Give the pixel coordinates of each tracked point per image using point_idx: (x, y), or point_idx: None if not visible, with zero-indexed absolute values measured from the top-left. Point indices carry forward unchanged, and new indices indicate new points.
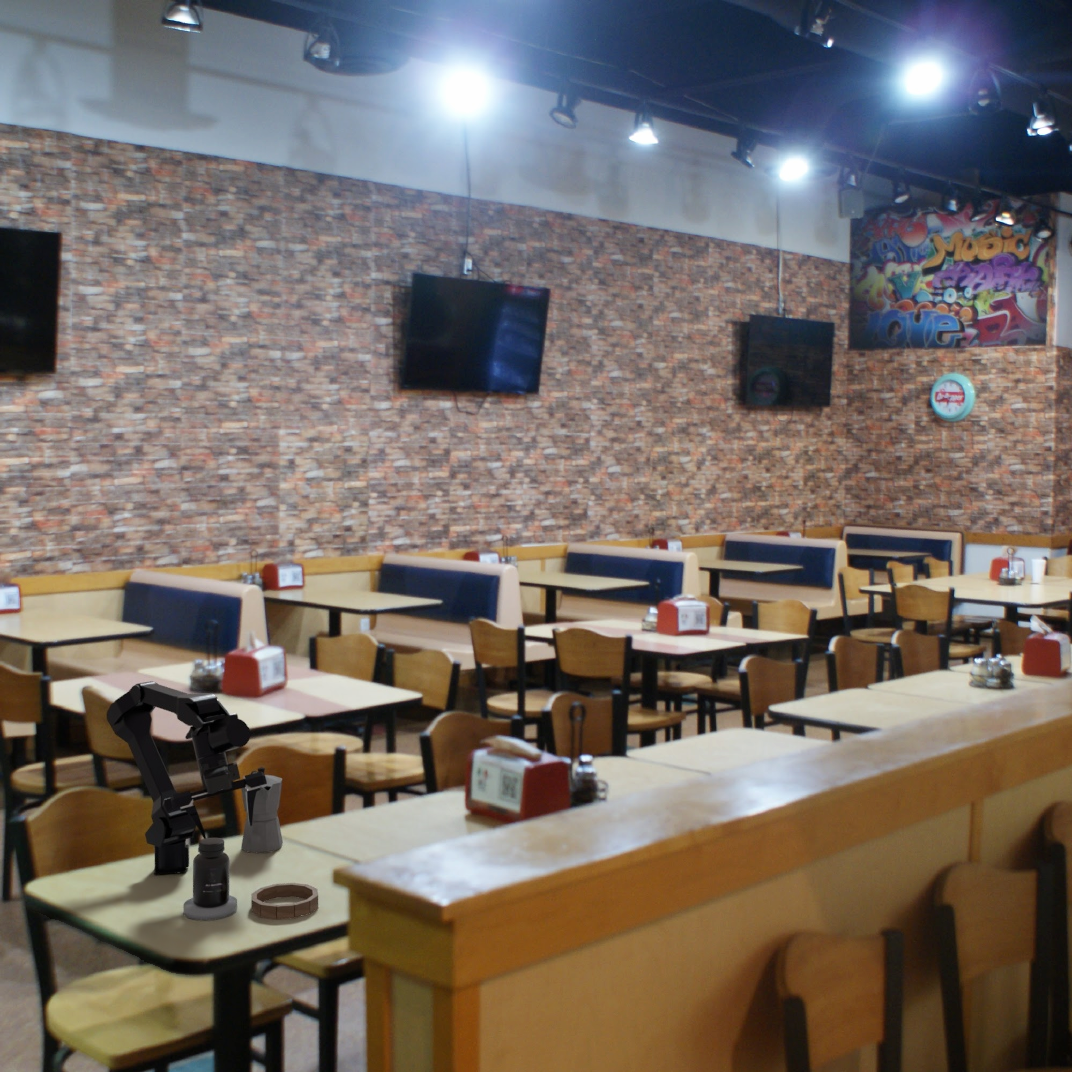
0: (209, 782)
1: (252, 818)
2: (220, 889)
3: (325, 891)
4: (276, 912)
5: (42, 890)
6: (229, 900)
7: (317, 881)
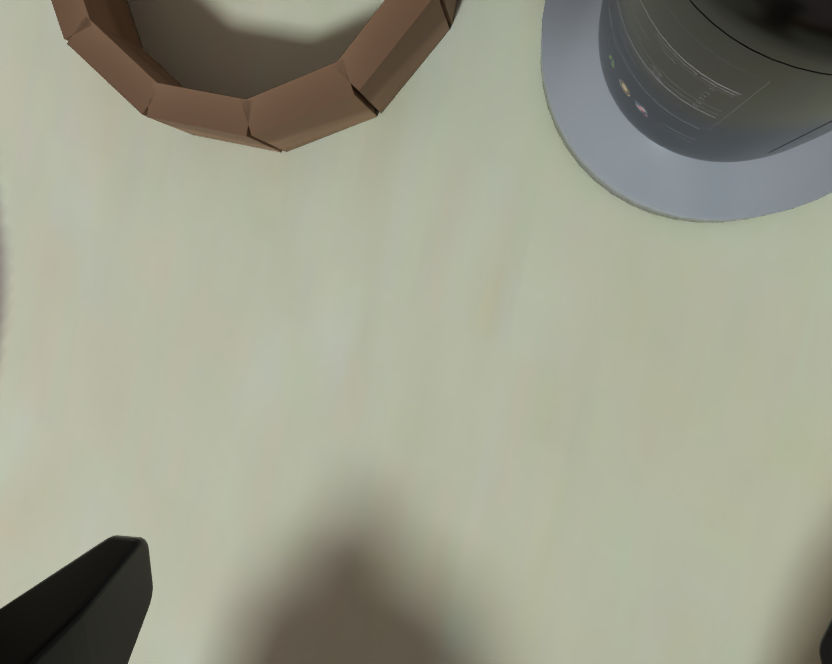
0: None
1: (16, 601)
2: None
3: (24, 125)
4: None
5: None
6: (594, 28)
7: (34, 304)
